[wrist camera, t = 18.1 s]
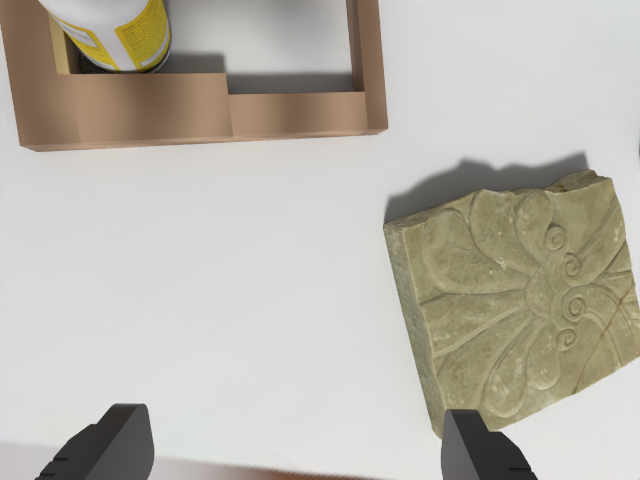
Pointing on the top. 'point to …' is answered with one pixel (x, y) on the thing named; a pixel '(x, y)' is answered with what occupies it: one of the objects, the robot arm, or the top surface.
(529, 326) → the decorative tile
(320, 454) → the top surface
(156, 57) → the supplement bottle
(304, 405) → the top surface
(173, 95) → the keyhole board
